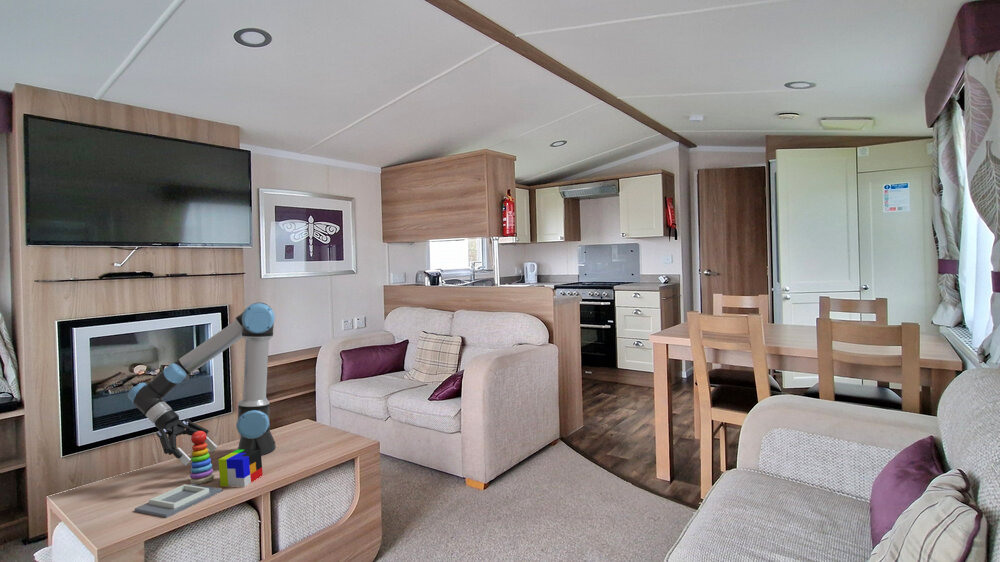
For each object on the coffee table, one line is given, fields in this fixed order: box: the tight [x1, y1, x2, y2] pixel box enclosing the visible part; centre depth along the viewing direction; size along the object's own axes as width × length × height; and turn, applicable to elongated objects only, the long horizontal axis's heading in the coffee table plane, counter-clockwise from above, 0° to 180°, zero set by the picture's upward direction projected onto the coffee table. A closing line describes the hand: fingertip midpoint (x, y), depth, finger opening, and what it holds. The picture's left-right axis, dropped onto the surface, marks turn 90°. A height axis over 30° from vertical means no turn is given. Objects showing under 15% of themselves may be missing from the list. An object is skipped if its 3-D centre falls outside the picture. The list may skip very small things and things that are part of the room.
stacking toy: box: [189, 431, 215, 485], centre depth 195 cm, size 8×8×19 cm
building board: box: [134, 483, 223, 519], centre depth 178 cm, size 20×16×2 cm
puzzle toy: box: [218, 449, 264, 488], centre depth 193 cm, size 10×10×10 cm
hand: (202, 455), depth 195 cm, fingers open, 13 cm apart
